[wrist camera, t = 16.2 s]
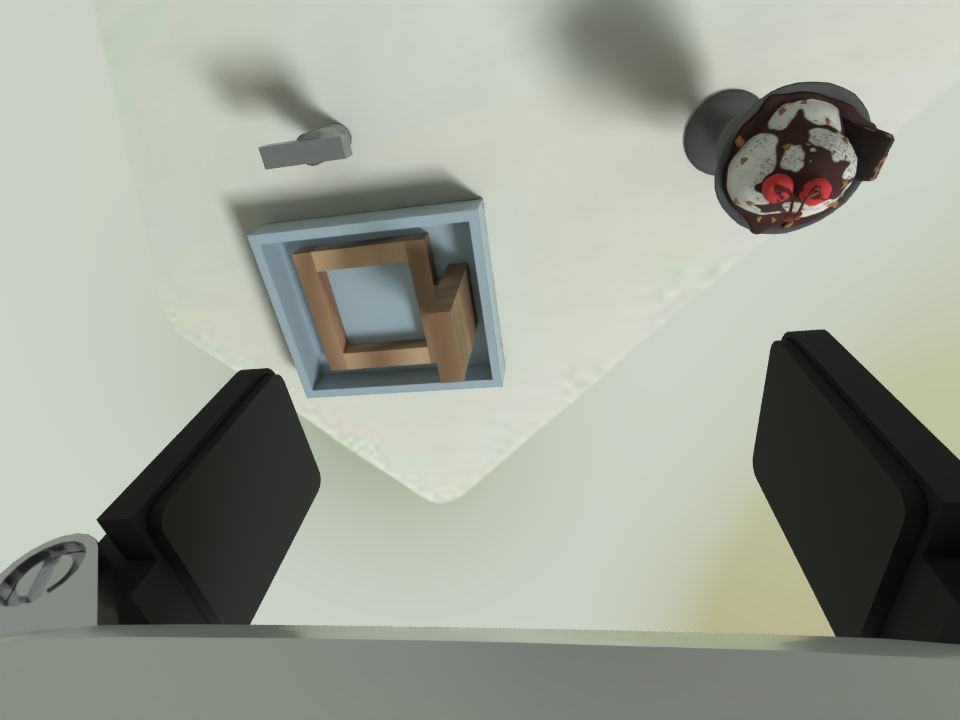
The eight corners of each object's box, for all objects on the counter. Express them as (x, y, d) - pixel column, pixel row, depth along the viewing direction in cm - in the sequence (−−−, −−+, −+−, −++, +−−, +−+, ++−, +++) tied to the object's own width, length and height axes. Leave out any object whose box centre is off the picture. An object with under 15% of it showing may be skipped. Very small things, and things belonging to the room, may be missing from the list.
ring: (462, 228, 37) (442, 271, 29) (482, 350, 42) (469, 413, 34) (299, 247, 39) (243, 292, 31) (337, 361, 44) (296, 423, 36)
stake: (300, 128, 35) (256, 142, 29) (370, 118, 34) (338, 130, 29) (308, 156, 36) (267, 174, 30) (376, 147, 35) (347, 163, 30)
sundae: (651, 168, 34) (717, 238, 21) (707, 56, 30) (828, 58, 18) (741, 204, 34) (859, 294, 22) (806, 98, 31) (994, 130, 18)
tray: (266, 223, 38) (247, 236, 36) (482, 198, 36) (477, 209, 33) (320, 378, 45) (307, 398, 43) (505, 366, 43) (502, 386, 40)
